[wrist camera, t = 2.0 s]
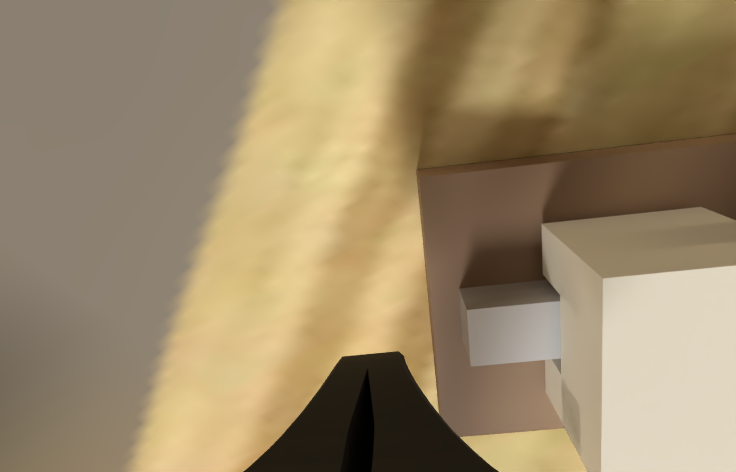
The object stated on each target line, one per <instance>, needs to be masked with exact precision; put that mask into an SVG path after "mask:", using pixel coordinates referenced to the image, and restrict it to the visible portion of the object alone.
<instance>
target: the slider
mask: <svg viewBox="0 0 736 472" xmlns="http://www.w3.org/2000/svg"><path fill="white" fill-rule="evenodd" d="M541 225H542V265H543V275H544V276H545V278H546V279H547V280H548V281H549V282H550V284H551V285H552V286H553V287H554V288H555V290H556V291H557V292H558V293H559V294H560V325H561V359H550V360H545V382H546V393H547V395H548V397H549V399H550V401H551V403H552V405H553V407H554V409H555V410H556V412H557V414H558V416H559V418H560V420H561V422H562V424H563V426H564V428H565V429H566V431H567V433H568V435H569V437H570V439H571V441H572V443H573V445H574V446H575V448H576V450H577V452H578V454H579V456H580V458H581V460H582V462H583V464H584V465H585V467H586V469H587V471H588V472H736V220H733V219H731V218H728V217H726V216H723V215H721V214H718V213H716V212H713V211H710V210H708V209H705V208H703V207H694V208H685V209H675V210H666V211H657V212H647V213H638V214H628V215H619V216H609V217H600V218H590V219H581V220H571V221H562V222H553V223H543V224H541Z"/></svg>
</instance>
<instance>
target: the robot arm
mask: <svg viewBox="0 0 736 472" xmlns="http://www.w3.org/2000/svg"><path fill="white" fill-rule="evenodd" d="M244 472H498V471H497V470H496V469H494V468H493V467H492V466H490V465H489V464H488V463H487V462H486V461H485V460H483V459H482V458H481V457H480V456H479V455H478V454H477V453H475V452H474V451H473V450H472V449H471V448H470V447H469V446H468V445H467V444H466V443H465V442H464V441H463V440H462V439H461V438H460V437H459V436H458V435H457V434H456V433H455V432H454V431H453V430H452V429H451V428H450V427H449V425H448V424H447V423H446V422H445V421H444V420H443V418H442V417H441V416H440V415H439V414H438V412H437V411H436V410H435V409H434V407H433V406H432V405H431V403H430V402H429V401H428V399H427V398H426V396H425V395H424V394H423V392H422V391H421V389H420V388H419V386H418V385H417V383H416V382H415V380H414V378H413V376H412V375H411V373H410V371H409V369H408V367H407V365H406V362H405V359H404V356H403V355H402V354H401V353H400V352H398V351H397V352H387V353H376V354H366V355H355V356H345V357H342V358H341V359H340V360H339V362H338V363H337V364H336V366H335V367H334V369H333V370H332V372H331V373H330V375H329V376H328V378H327V379H326V381H325V382H324V383H323V385H322V386H321V388H320V389H319V391H318V392H317V393H316V395H315V396H314V397H313V398H312V400H311V401H310V402H309V404H308V405H307V406H306V408H305V409H304V410H303V411H302V413H301V414H300V415H299V416H298V417H297V419H296V420H295V421H294V422H293V423H292V424H291V426H290V427H289V428H288V429H287V430H286V431H285V432H284V434H283V435H282V436H281V437H280V438H279V439H278V440H277V441H276V442H275V443H274V444H273V445H272V446H271V447H270V448H269V449H268V450H267V451H266V452H265V453H264V454H263V455H262V456H261V457H260V458H259V459H258V460H256V461H255V462H254V463H253V464H252V465H251V466H250V467H249V468H247V469H246V470H245V471H244Z"/></svg>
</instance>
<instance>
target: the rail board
mask: <svg viewBox="0 0 736 472" xmlns="http://www.w3.org/2000/svg"><path fill="white" fill-rule="evenodd" d="M416 171H417V181H418V192H419V203H420V214H421V224H422V235H423V246H424V257H425V267H426V278H427V289H428V300H429V311H430V321H431V332H432V343H433V354H434V364H435V375H436V386H437V397H438V407H439V415H440V416H441V417H442V418H443V420H444V421H445V422H446V423H447V424H448V425H449V427H450V428H451V429H452V430H453V431H454V432H455V433H456V434H457V435H458V436H459V437H463V436H476V435H488V434H500V433H512V432H524V431H536V430H548V429H560V428H564V426H563V424H562V422H561V420H560V418H559V416H558V414H557V412H556V410H555V409H554V407H553V405H552V403H551V401H550V399H549V397H548V395H547V393H546V382H545V360H550V359H561V325H560V294H559V293H558V292H557V291H556V290H555V288H554V287H553V286H552V285H551V284H550V282H549V281H548V280H547V279H546V278H545V276H544V275H543V265H542V225H541V224H543V223H553V222H562V221H571V220H581V219H590V218H600V217H609V216H619V215H628V214H638V213H647V212H657V211H666V210H675V209H685V208H694V207H703V208H705V209H708V210H710V211H713V212H716V213H718V214H721V215H723V216H726V217H728V218H731V219H733V220H736V134H729V135H720V136H711V137H703V138H694V139H685V140H676V141H667V142H658V143H650V144H641V145H632V146H623V147H614V148H606V149H597V150H588V151H579V152H570V153H561V154H553V155H544V156H535V157H526V158H517V159H508V160H500V161H491V162H482V163H473V164H464V165H456V166H447V167H438V168H429V169H420V170H416Z"/></svg>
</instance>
